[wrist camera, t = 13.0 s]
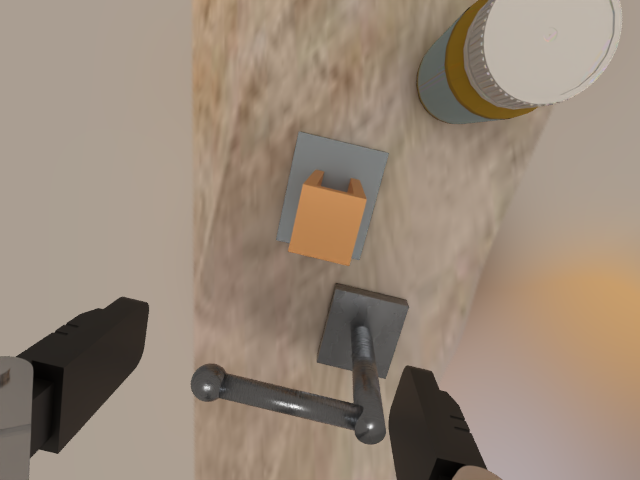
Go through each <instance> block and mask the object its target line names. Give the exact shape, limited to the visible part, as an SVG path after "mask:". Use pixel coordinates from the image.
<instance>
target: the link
mask: <svg viewBox="0 0 640 480" xmlns="http://www.w3.org/2000/svg"><path fill="white" fill-rule="evenodd" d="M323 175H324V171H320V170H316V169H315V171H314V172H313V173H312V174H311V175H310V176H309V178H308V179H307V180H306V181H305V182H304V183H303V186H302V191H301V195H300V200H299V204H298V209H297V213H296V218H295V223H294V227H293V232H292V236H291V241H290V245H289V250H288V252H292V253H297V254H301V255H305V256H309V257H313V258H317V259H322V260H326V261H330V262H334V263H338V264H342V265H347V266H349V265H350V261H351V257H352V253H353V250H354V246H355V242H356V239H357V235H358V231H359V227H360V224H361V220H362V216H363V212H364V209H365V205H366V201H367V198H366V196H365V193H364V190H363V188H362V185H361V182H360V180H358V179H353V178H351V179H350V183H349V187H348V191H347V192H343V191H339V190H335V189H330V188H326V187H322V186H321V184H322V180H323Z"/></svg>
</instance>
